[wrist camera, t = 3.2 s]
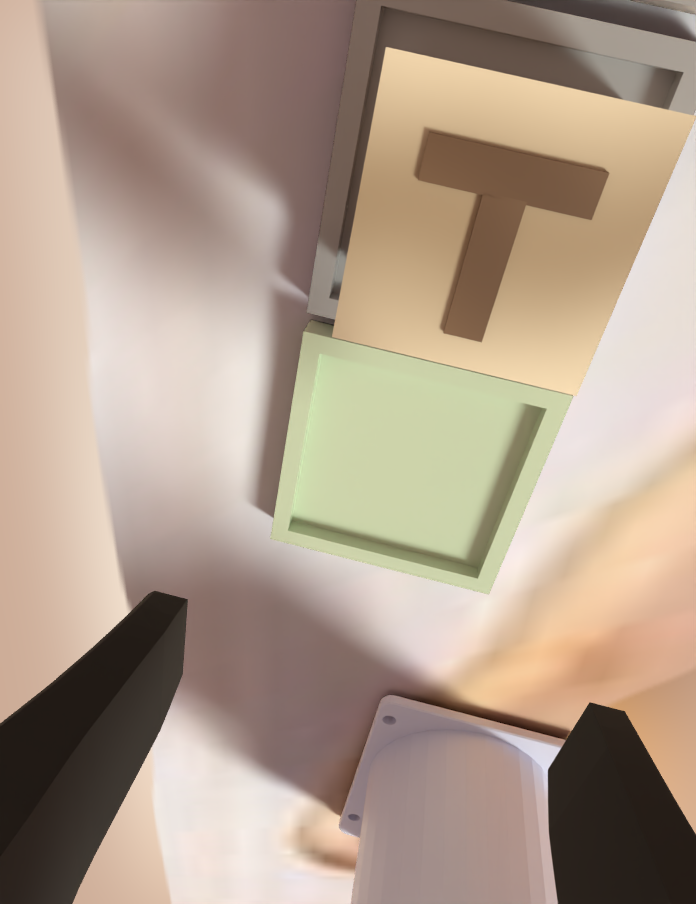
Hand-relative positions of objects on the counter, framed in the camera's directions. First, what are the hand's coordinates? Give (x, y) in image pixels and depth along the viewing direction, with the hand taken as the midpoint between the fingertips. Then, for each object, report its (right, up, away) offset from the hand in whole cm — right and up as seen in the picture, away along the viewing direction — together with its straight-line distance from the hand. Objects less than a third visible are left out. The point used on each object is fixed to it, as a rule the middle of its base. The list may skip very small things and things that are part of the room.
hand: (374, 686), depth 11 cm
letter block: (+3, +10, +3) cm, 11 cm away
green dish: (+1, +4, +7) cm, 8 cm away
